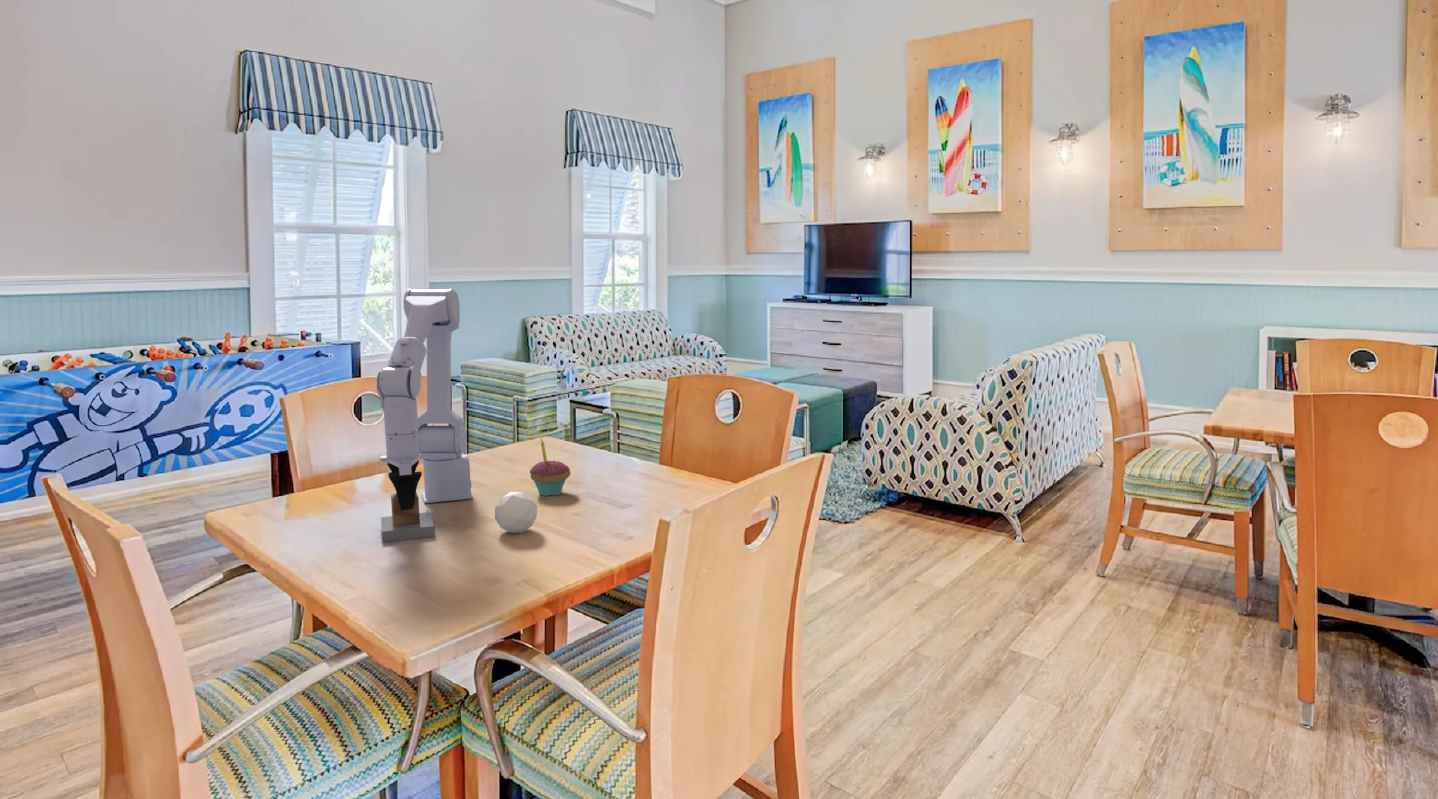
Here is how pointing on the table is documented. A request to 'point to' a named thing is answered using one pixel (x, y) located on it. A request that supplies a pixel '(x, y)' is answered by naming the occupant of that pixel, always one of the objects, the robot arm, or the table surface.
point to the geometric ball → (515, 512)
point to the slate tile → (407, 529)
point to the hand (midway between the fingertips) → (406, 503)
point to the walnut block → (404, 512)
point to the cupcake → (549, 475)
